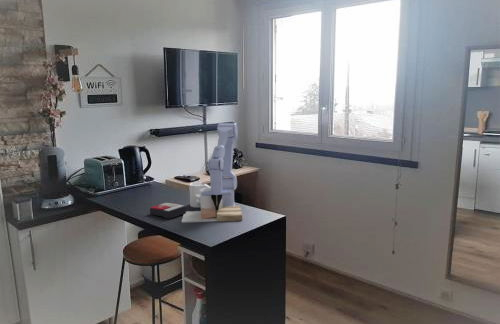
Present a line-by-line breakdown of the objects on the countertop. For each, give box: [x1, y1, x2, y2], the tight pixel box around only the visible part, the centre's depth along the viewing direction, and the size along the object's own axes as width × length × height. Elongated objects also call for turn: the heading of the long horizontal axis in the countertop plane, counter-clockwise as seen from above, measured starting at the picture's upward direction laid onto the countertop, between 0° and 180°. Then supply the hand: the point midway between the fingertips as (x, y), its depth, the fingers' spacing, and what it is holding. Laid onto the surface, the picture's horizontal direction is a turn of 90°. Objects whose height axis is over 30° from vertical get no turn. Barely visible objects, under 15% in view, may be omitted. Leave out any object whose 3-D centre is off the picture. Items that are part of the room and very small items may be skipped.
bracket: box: [189, 181, 222, 213], centre depth 208 cm, size 25×10×12 cm, turn 31°
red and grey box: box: [149, 202, 187, 220], centre depth 200 cm, size 11×4×15 cm
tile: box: [200, 207, 216, 219], centre depth 195 cm, size 10×7×2 cm
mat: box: [181, 210, 218, 224], centre depth 195 cm, size 16×16×1 cm
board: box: [216, 205, 243, 222], centre depth 196 cm, size 16×12×2 cm
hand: (217, 209), depth 195 cm, fingers closed
